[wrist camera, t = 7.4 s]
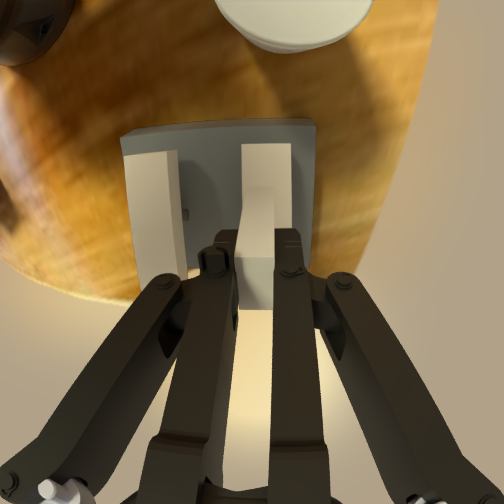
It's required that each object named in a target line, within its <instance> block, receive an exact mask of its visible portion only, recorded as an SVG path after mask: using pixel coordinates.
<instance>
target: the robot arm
mask: <svg viewBox="0 0 504 504" xmlns="http://www.w3.org/2000/svg"><path fill="white" fill-rule="evenodd" d="M74 1H75V0H0V65H3V66H15V65H20V64H25V63H29V62H31V61H33V60H35V59H37V58H38V57H40V56H41V55H42V54H44V53H45V52H46V51H47V50H48V49H49V48H50V47H51V46H52V45H53V44H54V42H55V41H56V40H57V38H58V37H59V36H60V34H61V33H62V31H63V29H64V27H65V26H66V24H67V22H68V19H69V17H70V14H71V12H72V9H73V5H74ZM197 256H198V262H199V267H200V275H199V276H197V277H194V278H191V279H186V280H182V281H181V279H180V277H179V276H178V275H176V274H173V273H164V274H160V275H158V276H155V277H154V278H153V279H152V280H151V281H150V282H149V283H148V284H147V286H146V287H145V288H144V289H143V291H142V292H141V293H140V295H139V296H138V297H137V298H136V300H135V301H134V302H133V303H132V305H131V306H130V307H129V309H128V310H127V311H126V313H125V314H124V315H123V316H122V318H121V319H120V320H119V322H118V323H117V324H116V326H115V327H114V328H113V330H112V331H111V332H110V334H109V335H108V336H107V338H106V339H105V340H104V342H103V343H102V344H101V346H100V347H99V348H98V350H97V351H96V353H95V354H94V355H93V357H92V358H91V360H90V361H89V362H88V363H87V365H86V366H85V368H84V369H83V371H82V372H81V373H80V375H79V376H78V378H77V379H76V380H75V382H74V383H73V385H72V386H71V388H70V389H69V390H68V392H67V393H66V395H65V396H64V398H63V399H62V401H61V402H60V404H59V405H58V407H57V408H56V410H55V411H54V413H53V414H52V416H51V417H50V419H49V420H48V422H47V423H46V425H45V426H44V428H43V429H42V431H41V432H40V434H39V436H38V437H37V438H36V439H35V440H33V441H32V442H31V443H30V444H28V445H27V446H26V447H25V448H23V449H22V450H21V451H20V452H18V453H17V454H16V455H15V456H13V457H12V458H11V459H10V460H8V461H7V462H6V463H5V464H3V465H2V466H1V467H0V495H1V497H2V498H3V499H5V500H6V501H8V502H10V503H12V504H96V502H95V499H94V496H96V495H97V494H98V493H99V492H100V490H101V489H102V488H103V487H104V485H105V484H106V483H107V481H108V480H109V478H110V477H111V475H112V474H113V472H114V470H115V468H116V466H117V464H118V463H119V461H120V459H121V457H122V455H123V453H124V452H125V450H126V448H127V446H128V444H129V442H130V441H131V439H132V437H133V435H134V433H135V432H136V430H137V428H138V426H139V424H140V423H141V421H142V419H143V417H144V415H145V413H146V412H147V410H148V408H149V406H150V405H151V403H152V401H153V399H154V397H155V395H156V394H157V392H158V390H159V388H160V386H161V385H162V383H163V381H164V379H165V377H166V376H167V374H168V372H169V370H170V369H171V367H172V365H173V363H174V361H175V360H176V358H177V360H176V364H175V368H174V372H173V376H172V380H171V385H170V389H169V393H168V397H167V401H166V406H165V410H164V414H163V418H162V423H161V427H160V431H159V433H158V434H157V435H156V436H154V437H152V439H151V440H150V442H149V445H148V448H147V452H146V457H145V461H144V466H143V470H142V475H141V480H140V485H139V489H138V491H136V492H135V493H133V494H132V495H131V496H129V497H128V498H127V499H126V500H124V501H123V502H122V503H120V504H342V503H341V502H340V501H338V500H337V499H335V498H333V497H331V494H330V470H329V455H328V448H327V445H326V444H325V442H324V435H323V419H322V405H321V393H320V381H319V369H318V359H317V348H316V339H315V329H314V328H316V329H320V333H321V336H322V338H323V340H324V342H325V344H326V347H327V349H328V351H329V354H330V356H331V358H332V360H333V363H334V365H335V367H336V369H337V372H338V374H339V377H340V379H341V381H342V383H343V386H344V388H345V391H346V393H347V395H348V398H349V400H350V402H351V405H352V407H353V409H354V412H355V414H356V417H357V419H358V421H359V424H360V426H361V429H362V431H363V433H364V436H365V438H366V441H367V443H368V445H369V448H370V450H371V452H372V455H373V458H374V460H375V463H376V465H377V468H378V470H379V473H380V475H381V478H382V480H383V482H384V485H385V487H386V489H387V491H388V494H389V496H390V497H391V499H392V501H393V502H394V504H504V495H503V494H502V492H501V491H500V490H499V489H498V488H497V487H496V486H495V485H494V484H493V483H492V482H491V481H490V480H489V479H487V478H486V477H485V476H484V475H483V474H482V473H481V472H480V471H479V470H478V469H477V468H476V467H475V466H474V465H472V464H471V463H470V462H469V461H468V460H467V459H466V458H465V457H464V456H463V455H462V453H461V451H460V449H459V447H458V445H457V443H456V441H455V439H454V438H453V436H452V433H451V432H450V430H449V428H448V426H447V424H446V422H445V420H444V418H443V416H442V415H441V413H440V411H439V409H438V407H437V405H436V404H435V402H434V400H433V398H432V396H431V395H430V393H429V391H428V389H427V388H426V386H425V384H424V382H423V381H422V379H421V377H420V376H419V374H418V372H417V370H416V369H415V367H414V365H413V364H412V362H411V360H410V358H409V357H408V355H407V354H406V352H405V350H404V349H403V347H402V345H401V344H400V342H399V340H398V339H397V337H396V336H395V334H394V332H393V331H392V329H391V328H390V326H389V325H388V323H387V321H386V320H385V318H384V317H383V315H382V314H381V312H380V310H379V309H378V307H377V306H376V304H375V303H374V301H373V300H372V299H371V297H370V295H369V294H368V292H367V291H366V289H365V288H364V286H363V285H362V283H361V282H360V280H359V279H358V278H357V277H356V276H354V275H352V274H350V273H346V272H336V273H333V274H331V275H330V276H329V277H328V278H327V279H323V278H319V277H315V276H313V275H311V274H310V273H309V272H308V271H307V269H306V267H305V265H304V257H303V250H302V242H301V235H300V233H299V232H298V231H297V230H296V229H295V228H274V187H246V191H245V197H244V202H243V208H242V214H241V219H240V225H239V229H225V230H220V231H219V232H218V233H217V234H216V235H215V239H214V243H213V246H208V247H205V248H203V249H202V250H201V251H200V252H199V253H198V255H197ZM238 304H239V309H241V310H273V348H272V393H271V428H270V452H269V477H268V486H265V487H260V488H255V489H250V490H245V491H231V490H228V489H225V488H223V471H222V465H223V455H224V445H225V436H226V427H227V417H228V408H229V399H230V389H231V381H232V371H233V362H234V353H235V345H236V336H237V327H238Z"/></svg>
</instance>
